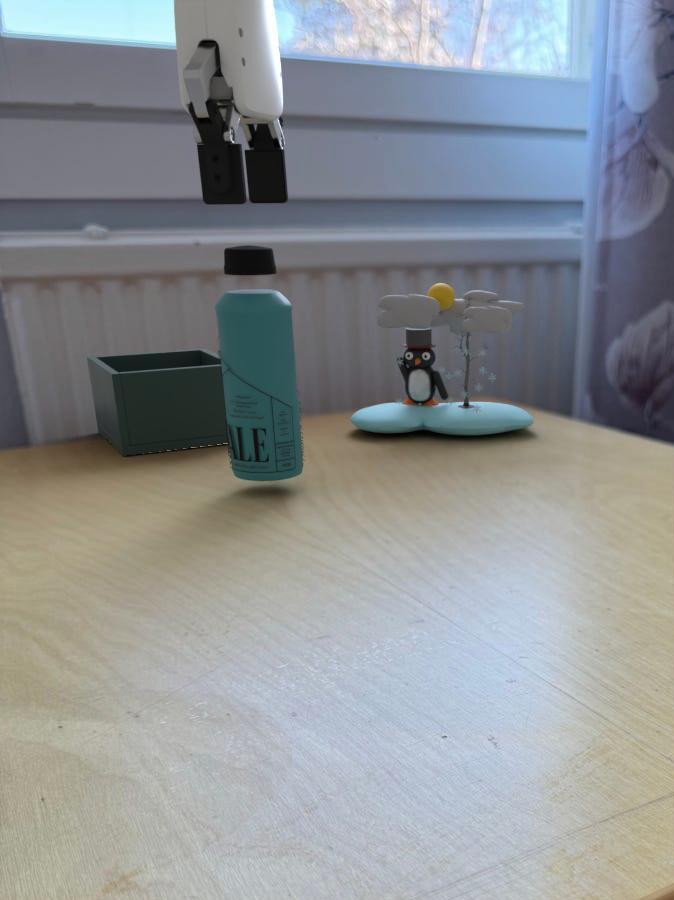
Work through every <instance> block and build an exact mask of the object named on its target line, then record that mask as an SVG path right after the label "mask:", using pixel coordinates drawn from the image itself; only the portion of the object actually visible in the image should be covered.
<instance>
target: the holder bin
mask: <svg viewBox="0 0 674 900" xmlns="http://www.w3.org/2000/svg"><path fill="white" fill-rule="evenodd" d="M218 354H219V353H215V352H213V351H211V350H208V349H207V348H196V349H193V348H192V349H181V350H167V351H165V350H163V351H150V352H135V353H123V354H121V353H120V354H109V355H107V354H106V355H94V356H93V355H92V356H87V357H86V361H87V368H88V374H89V381H90V386H91V392H92V401H93V407H94V412H95V419H96V426H97V432H98V434H99V435H100V436H102V437H103V438H104V439H105V440H106V439H107V440H108V441H110V443H111V444H112V445H113V446H114V447H115V448H116V449H117V450H118V451H119V452H120V453H121V454H122V455H123V456H125V457H127V456H126V455H134V456H137V455H136V454H143V453H149V452H159V451H167V450H175V449H183V448H191V447H200V446H208V445H217V444H223V443H229V436H228V442H227V435H226V434H227V433H228V426H227V432H226V425H225V423H227V421H226V420H227V416H226V415H225V414H226V410H224V409H225V408H226V406H225V405H224V404H225V402H224V401H225V397H224V388H223V387H222V386H223V377H222V376H221V374H222V367H221V366H220V367H219V365H220V364H221V360H220V358H219V356H220V355H219V356H218ZM219 360H220V361H219ZM219 363H220V364H219ZM220 371H221V372H220ZM220 373H221V374H220ZM220 376H221V377H220ZM221 378H222V379H221ZM223 405H224V406H225V407H224V406H223ZM224 411H225V412H224ZM225 421H226V422H225ZM107 440H106V441H107ZM108 441H107V442H108ZM110 443H109V444H110ZM111 444H110V445H111ZM112 445H111V446H112ZM113 446H112V447H113ZM114 447H113V448H114ZM115 448H114V449H115ZM116 449H115V450H116ZM117 450H116V451H117ZM118 451H117V452H118ZM119 452H118V453H119ZM120 453H119V454H120ZM121 454H120V455H121ZM122 455H121V456H122ZM143 455H144V454H143ZM123 456H122V457H123Z"/></svg>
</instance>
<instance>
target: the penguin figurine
mask: <svg viewBox="0 0 674 900" xmlns="http://www.w3.org/2000/svg"><path fill="white" fill-rule="evenodd" d="M377 307H378V308H379V309H383V310H382V311H380V312H379V313H378V314H377V316H376V317H377V319H376V320H377V321H376V323H377V324H378V326H379V327H381V328H386V329H400V328H403V327H406V328H405V343H404V344H401V347H402V348H406V349H405V351H404V352H403V355H402V356H398V357H397V358H396V359H395V362H396V366H398V369H399V371H400V374H401V376H402V378H403V380H404V389H405V394H406V396H407V398H405V399H404V400H403V398H401V399H400V398H398V399H395V401H396V402H385V403H379V404H375V405H370V406H367V407H363V408H361V409H359V410H356V411H355V412H354V413H353V414H352V415H351V417H350V423H352V425H353V426H354V427H355V428H358V429H360V430H362V431H365V432H372V433H378V434H403V433H411V432H416V431H429V432H433V433H437V434H443V435H449V436H450V435H452V436H483V435H484V436H485V435H495V434H502V433H506V432H511V431H515V430H522V429H526V428H528V427H531V426H533V424H534V422H535V420H534V418H533V416H532V415H531V414H530V413H529V412H527V411H526V410H524V409H523V408H521V407H519V406H516V405H512V404H507V403H502V402H494V401H493V402H492V401H469V382H470V381H472V379H470V380H469V378H470V364H471V361H472V360H474V359H475V357H472V358H471V352H470V349H471V348H470V347H471V346H470V343H471V342H473V341H471V340H470V339H469V337H477V336H479V335H480V333H485V334H507V333H510V332H511V331H512V330H513V329H512V328H513V326H514V320H513V315H518V314H519V313H522V312H523V311H524V309H525V303H523V302H519V301H513V300H512V301H511V300H500V299H499V294H497V293H495V292H492V291H485V290H479V289H477V290H475V289H474V290H470V291H467V292H465V293H464V294H463V296H462V298H456V295H455V291H454V289H453V287H452V286H450V284H446V283H444V282H442V283H441V282H438V283H436V284H433V285H432V286H431V287H430V288H429V289H428V291H427V295H424V294H417V293H409V294H407V295H403V294H392V295H391V294H390V295H384V296H382V297H381V298H380V299H379V300H378V305H377ZM445 326H449V332H450V333H452V334H454V335H456V336H459V337H461V339H460V338H458V340H459V342H460V345H458V344H457V343H455V344H454V346H451V352H455V354H458V352H462V353H461V356H462V360H465V361H466V363H465V364H466V365H465V370H464V369H463V368H461V367H460V369H461V370H459V368H458V367H457V368H456V370H455V372H454V374H453V373H450V372H447V370H445V369H446V366H444V367H442V368H440V367H439V366H438V367H437V369H438V370H437V369H434V368H433V365H434V364H435V362H436V353H435V351H434V350H433V349H432V348H436V347H437V345H436V344H434V343H432V342H433V341H432V340H433V339H432V338H433V337H432V329H434V328H439V327H441V328H443V327H445ZM464 337H466V339H465V348H464V349H463V340H464ZM454 339H457V337H455V336H454ZM469 340H470V342H469ZM486 352H488V349H485V348H484V347H482V349H481V350H479V349H478V356H477V358H478V357H480V356H481V355H482V359H484V356H488V354H487V353H486ZM487 369H488V368H487V367H485V369H484V368H478V370H479V371H478V374H482V376H484V375H485V373H486V372H487ZM440 372H441V374H442V375H443V374H444V376H445V377H444V380H447V382H451V380H453V377H456V378H457V379H459V378H460V376H463V374H462V372H463V373H465V376H464V385H463V392H462V391H461V394H460V397H462V398H463V401H458V402H457V401H455V400H456V398H452V397H449V393H448V391H447V388H446V386H445V383H444V381H443V378H442V376H441V374H440ZM444 372H447V374H446V373H444ZM452 376H453V377H452ZM496 377H497V374H494V373H493V372H491V373H490V375H489V376H488V379H489V381H491V383H494V380H495V381H496V380H497V378H496ZM483 386H484V385H483V384H481V385H480V384H477V385H474V386H473V387H475V389H474V391H477V392H478V393H480V392H481V389H483ZM436 390H437V392H438V394H439V396H440V398H441V400H443V401H447V402H441V403H439V402H437V401H436V400H435V398H434V397H435V395H436Z"/></svg>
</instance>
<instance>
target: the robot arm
mask: <svg viewBox="0 0 674 900" xmlns="http://www.w3.org/2000/svg"><path fill="white" fill-rule="evenodd" d="M173 15H174V31H175V46H176V48H175V49H176V59H177V62H176V63H177V72H178V82H179V85H178V86H179V94H180V102H181V106H182V107H183V108H184V110H185V111H186V112H187V114H189V115H190V116H191V118H192V120H193V122H194V125H193V131H192V132H193V139H194V142H195V143H196V150H197V159H198V168H199V177H200V186H201V194H202V201H203V203H204V204H206V205H210V206H211V205H213V206H214V205H217V206H218V205H244V204H246V202H247V201H248V200H249V202H250V203H251V204H286V203H287V202H288V201H289V193H288V191H289V190H288V179H287V178H288V177H287V166H286V155H285V153H286V152H285V144H286V142H285V137H284V136H285V135H284V134H283V127H284V124H283V123H284V118H283V117H282V114H283V111H284V93H283V92H284V91H283V90H284V89H283V75H282V74H283V73H282V65H281V64H282V63H281V55H280V44H279V36H278V28H277V20H276V14H275V5H274V0H173ZM239 125H240V126H241V128H242V132H243V134H244V137H245V140H246V142H247V143H246V144H247V145H248V149H243V145H242V143H236V141H237V136H238V130H239ZM255 125H256V127H255ZM243 151H244V155H243ZM244 160H245V164H244ZM244 165H245V166H244ZM245 172H246V174H245ZM245 175H246V176H245ZM246 181H247V188H246ZM247 192H248V199H247Z"/></svg>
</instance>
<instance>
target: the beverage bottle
mask: <svg viewBox="0 0 674 900" xmlns="http://www.w3.org/2000/svg"><path fill="white" fill-rule="evenodd" d="M223 250H224V251H223V261H224V264H223V273H224V275H226V276H227V275H228V276H269V275H276V274H277V265H276V260H275V254H274V249H273V248H271V247H267V246H262V245H251V244H250V245H249V244H248V245H247V244H246V245H237V246H230V247H225V248H224V249H223ZM214 311H215V314H216V315H215V316H216V324H217V333H218V337H217V339H218V340H217V344H218V345H219V346H218V348H219V349H218V350H217V354H218V356H219V355H220V356H219V358H220V360H221V364H220V363H219V364H220V365H219V367H220V366H221V367H222V374H221V373H220V374H221V376H222V377H223V386H222V387H223V388H224V397H225V401H224V402H225V404H224V405H225V406H226V408H225V409H224V410H226V414H225V415H226V416H227V420H226V421H227V423H225V425H226V432H227V426H228V433H227V434H226V435H227V442H228V436H229V443H228V444H227V445H226V446H227V453H228V457H229V458H228V460H229V465H231V466H230V469H231V471H232V473H233V475H234V477H236V478H238V479H239V480H243V481H251V482H276V481H284V480H288V479H292V478H296V477H298V476H300V475H301V474H302V473H303V470H304V462H306V460H305V458H304V449H305V447H304V446H305V444H304V436H303V435H304V434H303V425H302V424H301V423H303V421H302V420H303V419H302V417H301V414H302V410H301V407H300V401H299V394H300V393H299V391H298V385H297V370H296V357H295V340H294V328H293V326H294V325H293V313H292V311H293V304H292V303H291V302H290V301H289V299H288V298H286V296H285V295H283V294H282V293H281V292H280V291H279V290H276V289H266V288H265V289H263V288H262V289H261V288H257V289H256V288H254V289H253V288H250V289H249V288H247V289H234V290H227V291H225V292H224V293H223V294H222V296H220V297H219V299H218V300H217V302H216V303H215V305H214ZM220 360H219V361H220ZM220 372H221V371H220ZM221 376H220V377H221ZM221 379H222V378H221ZM224 405H223V406H224ZM225 406H224V407H225ZM224 412H225V411H224ZM226 421H225V422H226Z"/></svg>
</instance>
